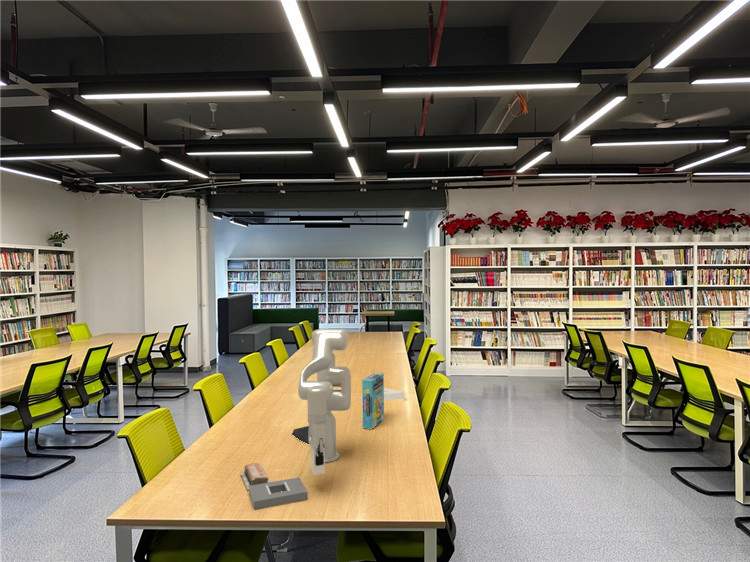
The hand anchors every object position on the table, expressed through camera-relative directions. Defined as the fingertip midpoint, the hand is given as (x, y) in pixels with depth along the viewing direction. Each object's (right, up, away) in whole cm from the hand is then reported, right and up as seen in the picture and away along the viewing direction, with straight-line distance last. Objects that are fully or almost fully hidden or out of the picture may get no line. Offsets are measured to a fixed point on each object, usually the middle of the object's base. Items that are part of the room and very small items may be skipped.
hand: (317, 462), depth 191 cm
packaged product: (-27, -11, +8) cm, 30 cm away
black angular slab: (-11, -10, +59) cm, 61 cm away
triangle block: (+23, -9, +129) cm, 132 cm away
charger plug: (0, -4, 0) cm, 4 cm away
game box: (+22, -9, +81) cm, 84 cm away
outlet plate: (-15, -11, -7) cm, 19 cm away
